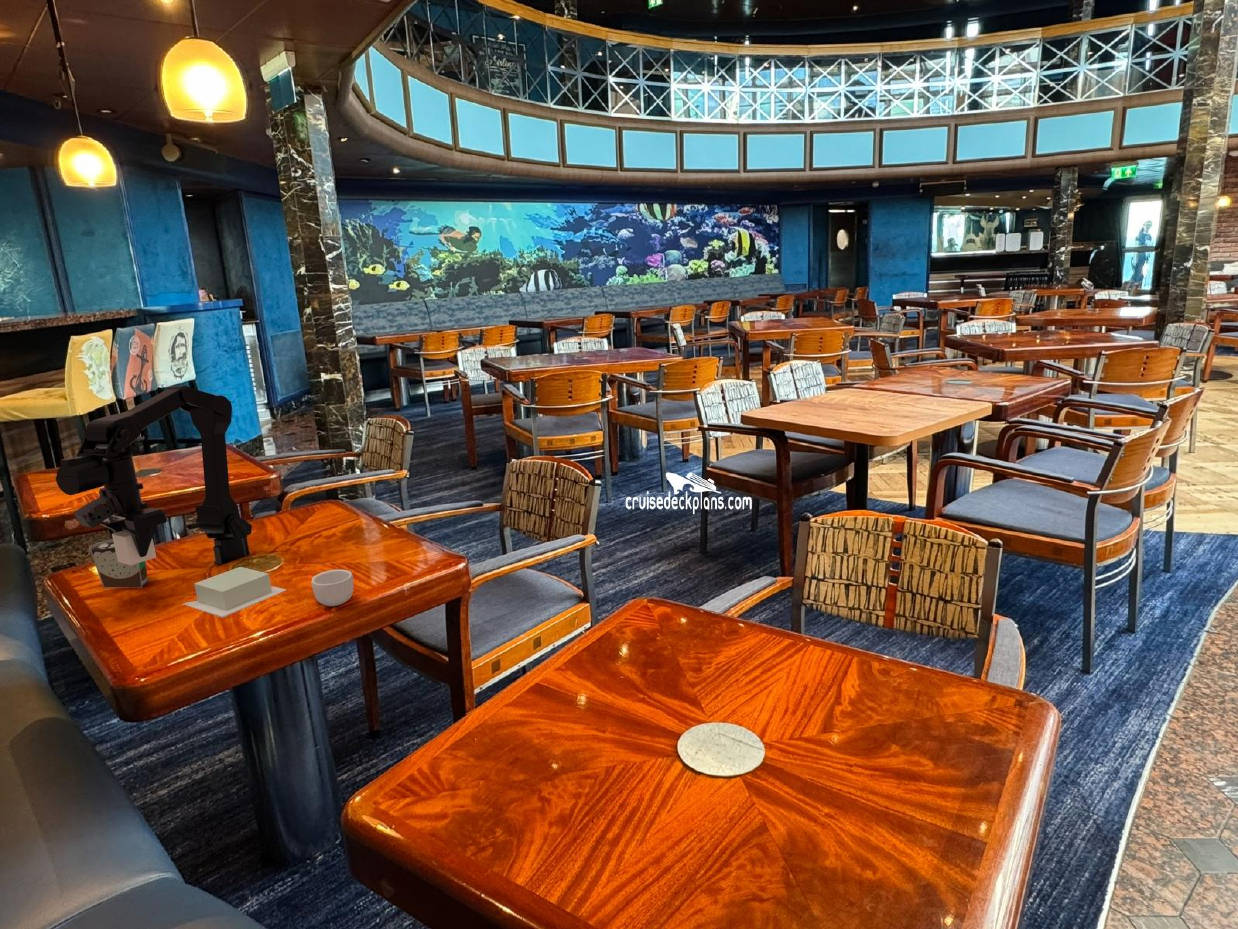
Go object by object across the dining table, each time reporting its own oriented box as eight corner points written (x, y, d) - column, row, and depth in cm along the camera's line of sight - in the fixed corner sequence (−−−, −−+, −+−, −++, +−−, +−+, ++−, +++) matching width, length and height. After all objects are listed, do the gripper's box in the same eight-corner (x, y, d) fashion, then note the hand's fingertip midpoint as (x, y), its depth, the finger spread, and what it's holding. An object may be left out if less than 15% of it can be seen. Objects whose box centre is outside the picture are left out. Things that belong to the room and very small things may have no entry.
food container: (167, 577, 168) (158, 535, 165) (148, 588, 162) (139, 545, 160) (118, 577, 169) (108, 536, 167) (97, 588, 163) (86, 546, 161)
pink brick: (143, 553, 154) (137, 526, 153) (156, 557, 152) (150, 529, 150) (118, 561, 150) (111, 534, 149) (130, 565, 148) (124, 537, 146)
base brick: (243, 584, 159) (240, 566, 158) (272, 591, 153) (268, 573, 153) (197, 601, 150) (194, 583, 149) (226, 610, 145) (222, 591, 144)
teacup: (363, 599, 150) (360, 574, 148) (329, 613, 144) (325, 588, 143) (335, 588, 156) (331, 564, 154) (301, 601, 150) (297, 577, 148)
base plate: (247, 583, 161) (246, 579, 161) (287, 594, 154) (286, 589, 154) (183, 608, 150) (182, 604, 150) (223, 621, 143) (222, 616, 143)
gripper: (52, 487, 145) (70, 561, 149) (98, 496, 136) (117, 575, 139) (113, 473, 154) (129, 544, 158) (161, 481, 145) (176, 556, 149)
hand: (136, 554), depth 151 cm, fingers closed on pink brick, 5 cm apart
